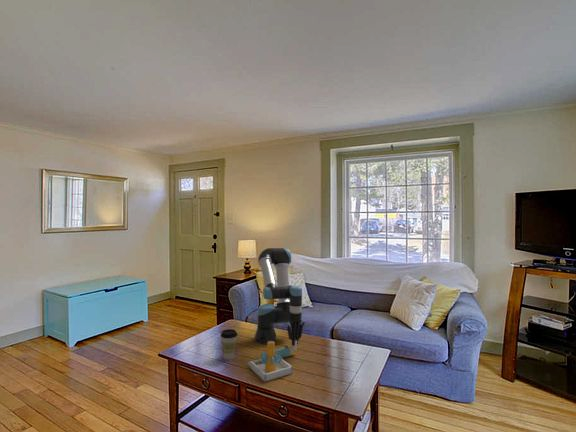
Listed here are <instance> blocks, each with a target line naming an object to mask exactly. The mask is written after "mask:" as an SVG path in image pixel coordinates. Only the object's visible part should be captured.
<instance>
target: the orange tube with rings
mask: <svg viewBox="0 0 576 432" xmlns="http://www.w3.org/2000/svg"><path fill="white" fill-rule="evenodd" d="M266 344H267V348H266V349H267V350H266V352H267V354H266V353H265V352H262V353H261V354H260V359H261V362H260V363H261V364H265V371H266V372H273V371H276V363H280V362H281V357H280V354H279V352H276V353H275V350H276V349H275V348H276V347H275V346H276V345H275V344H276V341H275V342H274V341H268V342H267V343H266ZM263 354H264V355H266V356H263ZM276 354H278V355H276ZM275 355H276V356H275ZM265 357H266V359H263V358H265ZM276 357H278V358H276ZM279 358H280V361H279V362H277V361H276V360H278V359H279ZM263 361H266V362H263Z"/></svg>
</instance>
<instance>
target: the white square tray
mask: <svg viewBox="0 0 576 432" xmlns="http://www.w3.org/2000/svg"><path fill="white" fill-rule="evenodd" d="M275 356H276V355H275ZM276 358H278V357H276ZM276 361H277V362H279V361H280V358H279V359H278V360H276ZM246 363H247V366H249V368H250V370H252V371H253V372H254V373H255V375H257V376H258V377H259V378H260V379H261V380H262V381H263V382H265V383H266V382H270V381H272V380H275V379H276V380H277V379H279V378H283V377H286V376H290V375H292V373H293V372H294V367H293V366H292V365H291V364H290V363H289V362H287V361H285V360H284V358H281V362H280V363H276V371H273V372H266V371H265V364H262V362H261V358H260V359H256V360H250V361H249V362H246ZM293 374H294V373H293Z"/></svg>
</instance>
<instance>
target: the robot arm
mask: <svg viewBox="0 0 576 432" xmlns="http://www.w3.org/2000/svg"><path fill="white" fill-rule="evenodd" d="M257 261H258V266H259V267H260V269H261V275H262V279H263V283H264V287H263V289H262V298H263V299H264V300H277V302H276V304H274V303H264V304H261V305H259V306H258V308H257V313H256V315H257V319H256V320H257V321H256V322H257V326H256V331H255V334H254V341H255V342H257V343H260V344H267V342H268V341H274V342H275V343H276V341H277V333H276V329H275V325H277V324H285V327H286V330H287V336H288V339H289V340H291V346H292V351H294V352H297V351H298V345H299V341H300V339H301V338H302V335H303V331H304V330H303V329H304V325H305V324H306V323H305V322H304V320H302V311H303V308H302V307H303V304H302V303H303V288H302V286H299V285H291V284H290V282H289V281H290V280H289V279H290V278H289V270H288V269H289V266H290V264H291V263H292V253H291V250H290V249H289V248H286V247H277V248H276V247H268V248H265V249H264V250H262V251H261V253H260V254H259V256H258V260H257ZM272 264H273V266H272ZM273 267H274V268H275V270H276V271H275V272H276V278H275V273H274V270H273Z"/></svg>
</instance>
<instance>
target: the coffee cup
mask: <svg viewBox="0 0 576 432" xmlns="http://www.w3.org/2000/svg"><path fill="white" fill-rule="evenodd" d="M220 337H221V349H222V352H221V353H222V359H224V360H232V359H233V358H234V357H235V356H234V355H235V351H236V345H237V344H236V343H237V337H238V333H237V330H235V329H232V328H231V329H230V328H229V329H224V330H222V331H221V333H220Z"/></svg>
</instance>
